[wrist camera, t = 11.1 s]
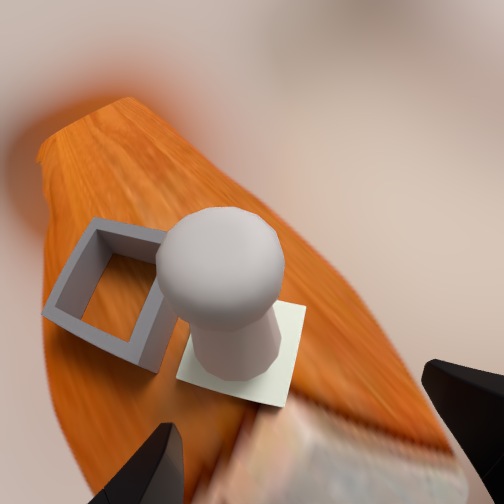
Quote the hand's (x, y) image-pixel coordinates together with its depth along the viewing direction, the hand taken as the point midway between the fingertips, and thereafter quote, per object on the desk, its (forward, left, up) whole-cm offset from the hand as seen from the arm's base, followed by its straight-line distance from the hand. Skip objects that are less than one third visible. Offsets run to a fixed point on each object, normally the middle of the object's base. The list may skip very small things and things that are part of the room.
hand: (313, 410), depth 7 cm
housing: (+5, +15, -12) cm, 20 cm away
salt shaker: (+4, +4, -11) cm, 12 cm away
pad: (+4, +4, -12) cm, 13 cm away
